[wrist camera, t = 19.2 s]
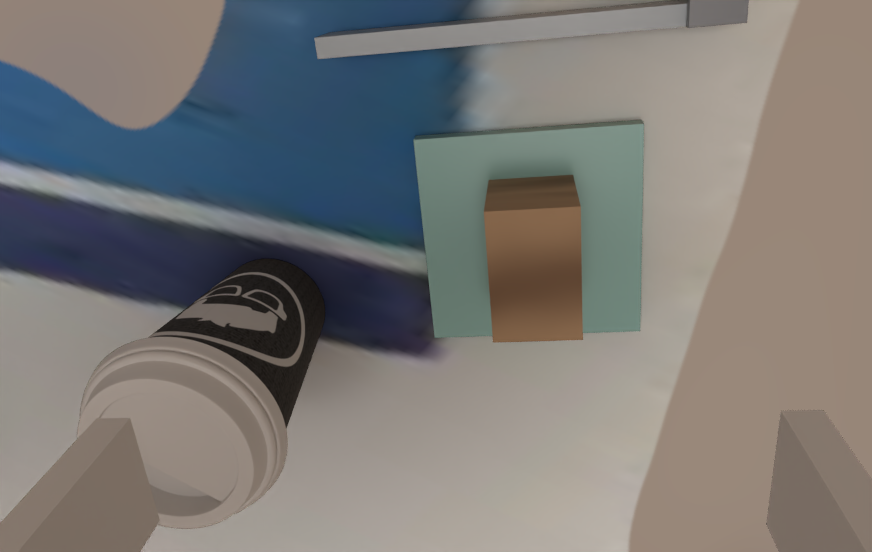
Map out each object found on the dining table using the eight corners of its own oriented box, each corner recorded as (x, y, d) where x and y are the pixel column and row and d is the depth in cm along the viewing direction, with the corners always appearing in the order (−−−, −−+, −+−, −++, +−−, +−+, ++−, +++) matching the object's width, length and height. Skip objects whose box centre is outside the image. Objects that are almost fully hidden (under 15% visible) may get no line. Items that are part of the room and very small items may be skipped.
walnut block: (488, 179, 39) (483, 211, 34) (572, 174, 38) (580, 206, 33) (496, 296, 42) (492, 342, 37) (575, 293, 41) (582, 339, 36)
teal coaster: (436, 329, 44) (434, 337, 43) (415, 135, 39) (413, 139, 38) (637, 323, 42) (640, 331, 42) (641, 119, 38) (643, 123, 37)
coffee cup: (169, 289, 45) (14, 430, 31) (278, 203, 42) (160, 319, 28) (270, 397, 47) (168, 573, 34) (381, 324, 44) (318, 485, 31)
